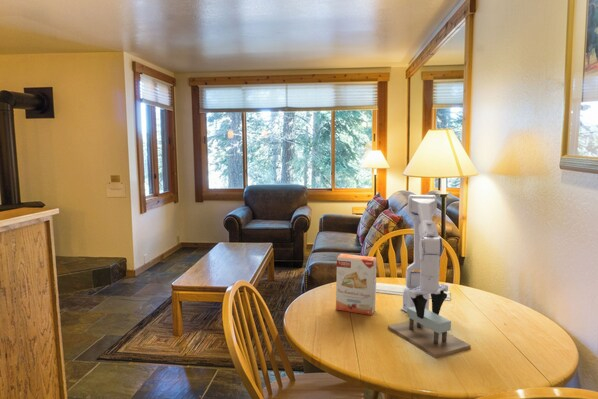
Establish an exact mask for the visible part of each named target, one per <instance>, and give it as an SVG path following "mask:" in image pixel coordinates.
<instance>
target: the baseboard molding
mask: <svg viewBox="0 0 598 399" xmlns="http://www.w3.org/2000/svg"><path fill="white" fill-rule="evenodd" d="M405 288H406V285H401V284H394V283H393V284H391V283H385V282H383V283H382V282H377V280H376V294H377V293H378V294H386V295H393V296H394V295H395V296H402V297H403V292H404V289H405ZM444 293H446V294H447V298H446V299H445V300H444V301H448V302H449V301H450V302H451V292H450V290H448V291H447V292H445V291H444ZM430 299H431V294H429V300H430ZM431 300H432V299H431Z"/></svg>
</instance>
